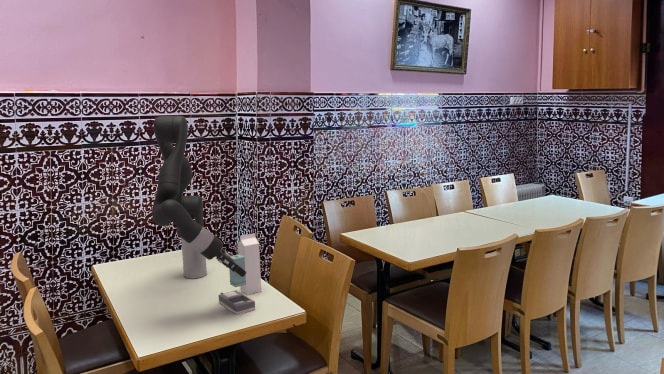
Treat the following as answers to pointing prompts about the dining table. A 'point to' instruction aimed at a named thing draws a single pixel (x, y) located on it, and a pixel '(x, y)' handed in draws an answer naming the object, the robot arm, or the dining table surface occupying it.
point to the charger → (234, 277)
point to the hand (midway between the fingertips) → (242, 272)
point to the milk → (250, 263)
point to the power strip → (236, 302)
